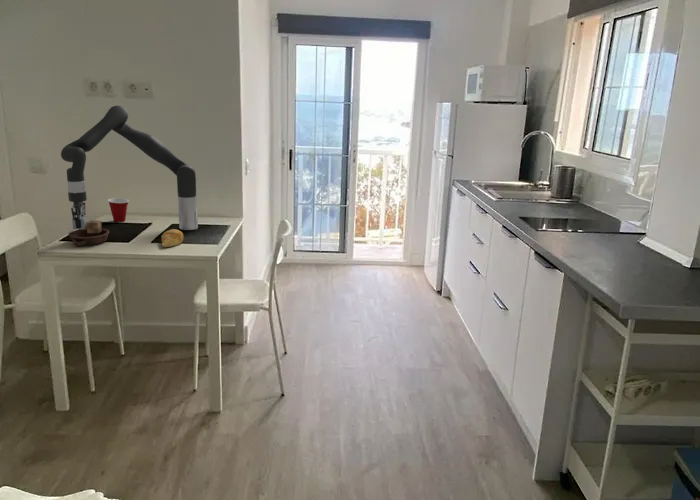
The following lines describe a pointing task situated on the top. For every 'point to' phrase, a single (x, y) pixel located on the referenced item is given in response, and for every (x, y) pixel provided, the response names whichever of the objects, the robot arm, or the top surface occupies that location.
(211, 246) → the top surface
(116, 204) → the plastic cup
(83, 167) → the robot arm
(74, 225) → the grey block
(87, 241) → the dish
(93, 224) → the walnut block
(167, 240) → the croissant
